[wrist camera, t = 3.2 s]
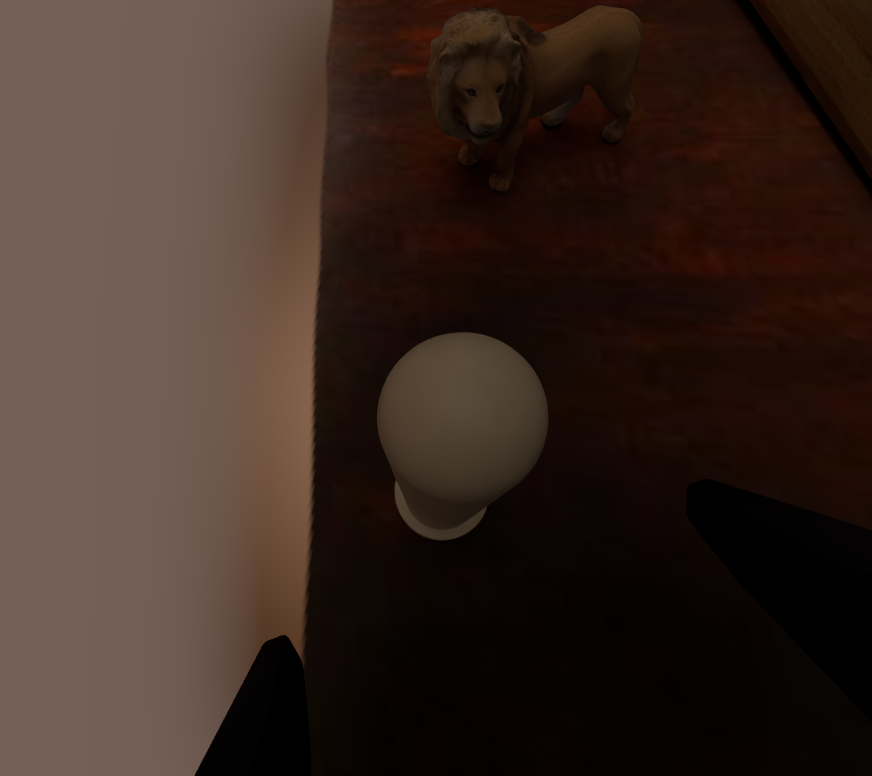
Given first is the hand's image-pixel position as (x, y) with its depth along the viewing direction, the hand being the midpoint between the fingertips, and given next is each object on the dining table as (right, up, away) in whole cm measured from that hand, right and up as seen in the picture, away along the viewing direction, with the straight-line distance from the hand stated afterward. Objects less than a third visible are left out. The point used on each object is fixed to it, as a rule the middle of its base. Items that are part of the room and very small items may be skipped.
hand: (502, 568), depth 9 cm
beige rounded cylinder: (-1, -1, +10) cm, 10 cm away
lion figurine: (+4, +17, +17) cm, 25 cm away
